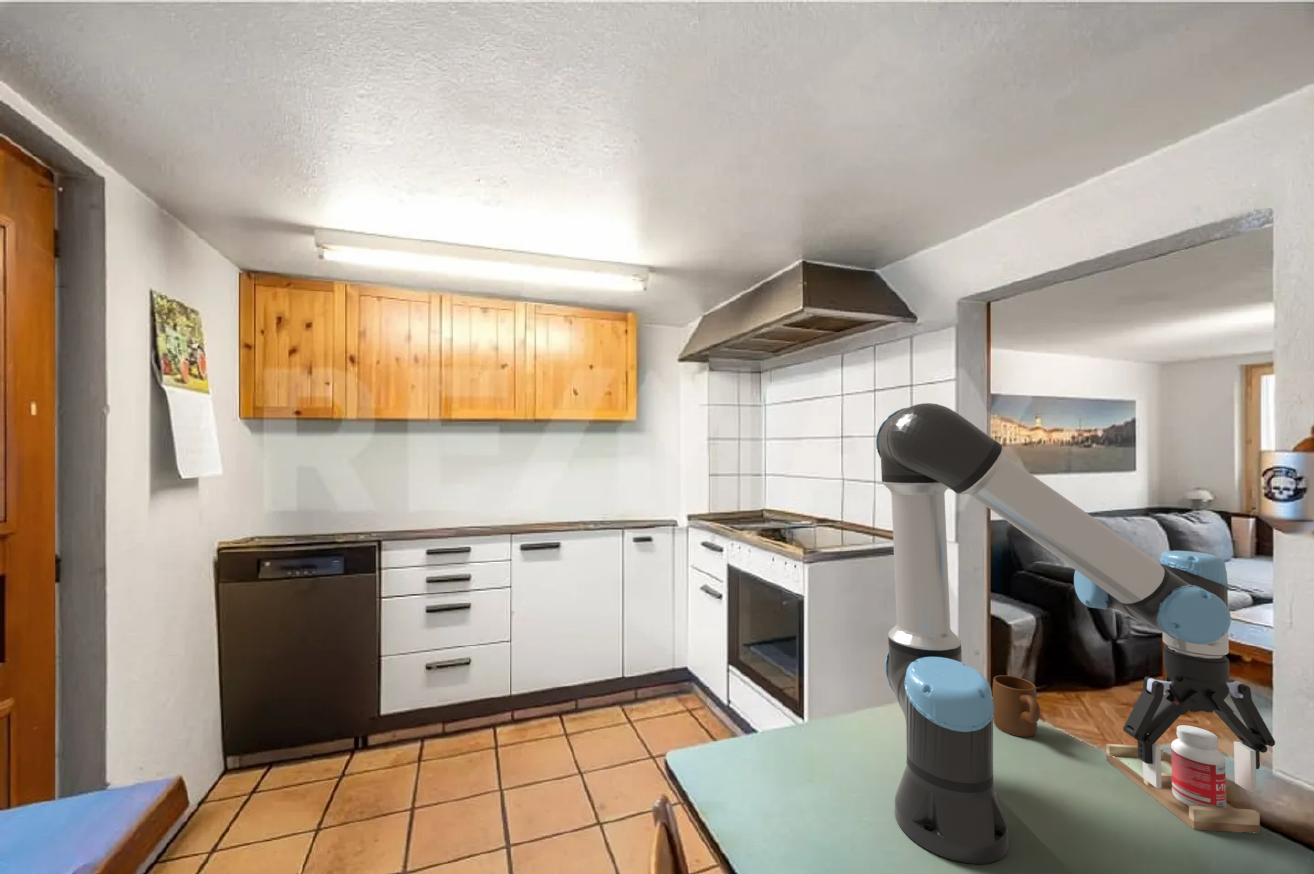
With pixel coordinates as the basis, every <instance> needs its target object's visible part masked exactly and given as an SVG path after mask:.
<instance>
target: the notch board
mask: <svg viewBox="0 0 1314 874" xmlns="http://www.w3.org/2000/svg"><path fill="white" fill-rule="evenodd" d="M1105 748H1106V750H1105V751H1106V752H1105V753H1109V754H1110V755H1108V754H1106V761H1107V762H1108V763H1109V764H1110V765H1112V766H1113V767H1114V768H1116V769H1117V770H1118V771H1120V772H1121V773H1122V774H1123V775H1125V776H1126V777H1127V778H1128V779H1129V780H1131V781H1132V783H1135V784H1136V785H1137V786H1138V787H1139V788H1141V789H1142V790H1143V791H1145V792H1146V793H1147V794H1148V795H1149V796H1151V797H1153V798H1154V800H1156V801H1157V802H1158V803H1160V804H1161V805H1162V806H1164V807H1165V808H1166V809H1167V810H1168V811H1170V812H1171V813H1173V815H1175V816H1176V817H1178V818H1179V819H1180V820H1182V821H1183V823H1185V824H1186V825H1188V826H1189V827H1190V828H1191V829H1193V830H1198V831H1199V830H1200V831H1211V832H1212V831H1215V832H1227V831H1228V832H1230V831H1231V832H1230V833H1242V832H1251V833H1250V834H1258V833H1260V834H1261V827H1260V826H1261V824H1260V823H1261V822H1260V821H1261V820H1260V819H1261V818H1260V816H1261V815H1260V812H1258V811H1257V810H1256V809H1250V808H1249V809H1248V808H1247V809H1246V808H1235V807H1234V806H1232V805H1231V804H1230V803H1228V802H1226V808H1218V807H1202V806H1187V805H1185V804H1183V803H1182V802H1180V801H1179V800H1177V799H1176V798H1175V796H1174V795H1173V793H1172V763H1169V761H1167V760H1165V759H1164V749H1163V747H1161V784H1162V788H1156V787H1154V786H1153V785H1152V784H1151V783H1149V782H1148V781H1147V780H1145V779H1144V778H1143V761H1142V760H1140V759H1139V757H1138V744H1137V745H1135V744H1131V745H1130V744H1119V743H1118V744H1116V743H1114V744H1113V743H1106V745H1105ZM1111 755H1112V756H1115V757H1116V758H1119V759H1121V760H1119V759H1116V758H1113V757H1112V756H1111ZM1128 763H1129V764H1128ZM1253 832H1255V833H1253Z"/></svg>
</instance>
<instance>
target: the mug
mask: <svg viewBox="0 0 1314 874" xmlns="http://www.w3.org/2000/svg"><path fill="white" fill-rule="evenodd" d="M992 681H993V682H992V699H993V702H994V703H993V705H994V715H993V725H995V727H996V728H997V729H999V731H1001V732H1004V733H1006V734H1008V735H1011V736H1015V737H1019V738H1020V737H1022V738H1023V737H1024V738H1031V737H1033V736H1035V735H1036V734H1037V731H1038V721H1039V720H1040V719H1041V707H1040V705H1039V703H1038V697H1037V695H1038V694H1037V687H1036V685H1035V684H1034V683H1033V682H1032V681H1030V680H1027V679H1025V678H1022V677H1018V676H1014V675H1008V674H1007V675H1005V674H1004V675H1003V674H1002V675H996V676H994V677H993V679H992Z"/></svg>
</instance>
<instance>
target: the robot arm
mask: <svg viewBox="0 0 1314 874" xmlns="http://www.w3.org/2000/svg"><path fill="white" fill-rule="evenodd" d="M875 447H876V450H877V453H878V454H877V455H878V456H879V459H880V470H881V471H880V473H881V484H882V485H884V486H885V487H886V488H887V489H888V490H889V491H890V494H891V516H892V517H891V518H892V519H891V520H892V541H893V560H894V562H893V565H894V567H893V568H894V587H895V609H896V610H895V611H896V612H895V613H896V624H895V626H893V627H892V628H891V629H890V630H889V631H888V633H887V637H888V651H887V652H886V656H885V665H884V670H885V676H886V679H887V682H888V685H889V686H890V688H891V690H892V692H893V694H894V695H895V698H896V700H897V702H898V705H899V707H900V709H901V711H902V713H903V716H904V718H905V726H906V727H905V728H906V730H905V731H906V733H905V735H906V736H905V737H906V766H905V769H904V771H903V774H902V777H901V779H900V782H899V785H898V787H897V789H896V793H895V797H894V816H895V820H896V822H897V825H898V827H899V828H900V829H901V830H902V832H904V833H905V835H906V836H907V837H909V838H910V840H912V841H913V842H914V843H916V844H917V845H919V847H920V846H921V847H922V848H924V849H925V850H928V851H930V852H931V853H933V854H936V855H938V856H940V857H941V858H942V857H943V858H946V859H948V860H952V861H956V862H960V863H966V864H976V865H978V864H989V863H994V862H997V861H999V860H1001V859H1002V858H1003V857H1005V856H1006V855H1007V852H1008V850H1009V828H1008V824H1007V820H1006V818H1005V814H1004V813H1003V812H1004V811H1003V810H1002V806H1001V805H1000V801H999V799H998V796H997V792H996V789H995V786H994V721H993V715H994V705H993V703H994V702H993V691H992V689H991V688H992V687H991V686H990V683H989V681H988V680H987V679H986V677H985V676H984V675H983V674H982V673H981V672H979V671H978V670H977V669H976V668H974V667H972V666H969V665H966V664H965V663H964V662H963V657H962V655H963V654H962V640H961V638H960V637H959V636H958V635H956V633H955V632H954V631H952V629H951V612H950V610H951V609H950V608H951V607H950V591H949V588H950V587H949V584H950V583H949V569H948V567H949V565H948V543H947V541H948V540H947V524H946V523H947V519H946V504H945V503H946V499H945V493H946V491H947V490H948V489H950V490H951V491H952V492H954V493H956V494H958V495H969V496H972V498H974V499H976V500H977V501H978V502H980V503H981V504H982V505H984V506H985V507H987V508H988V509H989V510H991V511H992V512H993V513H995V514H997V515H998V516H999V517H1001V518H1002V520H1003V519H1004V520H1005V521H1006V522H1008V523H1009V524H1010V525H1012V526H1013V527H1014V528H1016V529H1018V531H1021V533H1023V534H1024V535H1026V536H1027V537H1029V538H1030V539H1032V540H1033V541H1035V542H1036V543H1037V544H1038V545H1039V546H1041V547H1043V548H1044V549H1046V550H1047V551H1048V552H1050V553H1051V554H1052V555H1054V556H1055V557H1057V558H1058V559H1060V560H1061V561H1062V562H1064V563H1065V564H1067V566H1069V567H1071V568H1072V569H1073V570H1074V575H1073V585H1074V586H1073V587H1074V590H1075V593H1076V596H1077V598H1078V599H1079V601H1080V602H1081V603H1082V604H1083V605H1084V606H1086V607H1088V608H1093V609H1101V610H1103V611H1107V610H1115V611H1119V612H1120V613H1123V614H1125V615H1127V616H1130V617H1131V618H1134V619H1136V620H1138V621H1140V622H1141V623H1142V622H1143V623H1145V624H1147V625H1149V626H1151V627H1152V628H1154V629H1157V630H1159V631H1160V632H1162V642H1163V643H1164V644H1165V646H1164V647H1163V648H1162V652H1163V653H1162V654H1163V658H1162V659H1163V667H1164V670H1165V673H1166V677H1165V679H1164V680H1159V679H1154V678H1153V677H1151V676H1145V677H1144V678H1143V684H1142V690H1141V692H1140V694H1139V696H1138V698H1137V700H1136V702H1135V704H1134V706H1133V708H1132V710H1131V712H1130V714H1129V716H1128V718H1127V719H1126V722H1125V723H1124V725H1123V726H1122V727H1123V728H1122V729H1123V732H1124V733H1126V734H1128V735H1129V736H1130V737H1131V738H1133V739H1134V740H1136V741H1137V745H1138V757H1139V759H1140V760H1142V761H1143V778H1144V779H1145V780H1147V781H1148V782H1149V783H1151V784H1152V785H1153V786H1154V787H1156V788H1162V784H1161V748H1162V747H1161V745H1159V744H1158V743H1156V742H1157V741H1158V740H1159V739H1160V738H1162V736H1163V735H1164V734H1165V732H1166V731H1168V729H1169V728H1170V727H1171V726H1172V725H1173V724H1174V723H1175V722H1176V721H1177V719H1178V718H1179V717H1181V716H1184V715H1186V714H1187V713H1188V712H1192V713H1193V712H1194V713H1199V712H1205V713H1212V714H1213V713H1215V714H1216V715H1217V716H1218V717H1219V719H1220V720H1221V721H1222V722H1223V723H1224V724H1225V725H1226V726H1227V727H1228V728H1229V729H1230V731H1231V732H1232V733H1233V734H1234V735H1235V736H1236V737H1237V739H1238V740H1240V741H1241V742H1240V741H1233V762H1234V763H1233V764H1234V765H1233V766H1234V783H1235V784H1236V785H1238V786H1240V787H1241V788H1243V789H1244V790H1246V791H1247V792H1249V793H1250V794H1258V793H1257V792H1258V791H1257V790H1258V789H1257V770H1259V769H1260V767H1261V763H1260V762H1261V759H1260V758H1261V757H1260V755H1261V754H1263V753H1267V752H1268V747H1267V746H1269V747H1274V746H1275V745H1276V741H1275V739H1274V737H1273V736H1272V733H1271V731H1270V729H1269V728H1268V726H1267V724H1266V723H1265V721H1264V719H1263V717H1262V715H1261V714H1260V712H1259V710H1258V708H1257V706H1256V705H1255V703H1254V701H1253V699H1252V698H1253V696H1252V691H1251V687H1250V686H1248V685H1246V684H1244V683H1242V682H1240V681H1238V680H1235V679H1232V678H1231V679H1230V677H1231V676H1230V659H1229V658H1228V657H1227V656H1226V655H1228V654H1229V651H1230V649H1229V647H1230V646H1229V645H1230V644H1229V630H1230V628H1231V623H1232V618H1231V617H1232V616H1231V612H1230V609H1229V607H1228V604H1229V603H1228V602H1229V601H1228V600H1229V599H1228V597H1229V596H1228V593H1229V592H1228V588H1229V583H1228V573H1227V569H1226V564H1225V561H1224V560H1223V559H1222V558H1221V557H1220V556H1217V555H1214V554H1210V553H1206V552H1198V551H1191V550H1189V551H1188V550H1165V551H1163V552H1162V553H1161V556H1160V560H1159V562H1158V561H1156V560H1155V559H1153V558H1152V557H1151V556H1149V555H1147V553H1145V552H1144V551H1142V550H1141V549H1139V548H1138V547H1136V546H1135V545H1134V544H1132V543H1131V542H1130V541H1127V540H1126V539H1125V538H1123V537H1122V536H1120V535H1119V534H1118V533H1117V532H1115V531H1114V530H1112V529H1111V528H1109V527H1108V526H1106V525H1104V524H1103V523H1102V522H1101V521H1099V520H1097V519H1096V518H1094V517H1093V516H1092V515H1091V514H1089V513H1088V512H1086V511H1085V510H1084V509H1082V508H1081V507H1080V506H1077V505H1076V504H1075V503H1073V502H1071V501H1070V500H1069V499H1067V498H1066V497H1064V496H1063V495H1062V494H1060V493H1059V492H1057V491H1056V490H1055V489H1053V488H1052V487H1050V486H1049V485H1047V484H1046V483H1044V482H1043V481H1041V480H1040V479H1039V478H1037V477H1036V476H1034V475H1033V474H1032V473H1030V472H1028V471H1027V470H1026V469H1024V468H1023V467H1022V466H1020V465H1018V464H1017V463H1016V462H1014V461H1012V460H1011V459H1010V458H1009V457H1007V456H1006V455H1005V447H1004V446H1003V445H1002V444H1001V443H999V442H998V441H997V440H995V439H993V438H992V437H991V436H989V435H988V434H987V433H985V431H982V430H981V429H980V428H979V427H978V426H976V425H975V424H973V422H971V421H969V420H967V418H965V417H964V416H962V415H960V414H959V413H958V412H957V411H955V410H953V409H951V408H949V407H947V406H944V405H942V404H938V403H932V402H930V403H928V402H925V403H924V402H923V403H918V404H915V405H911V406H909V407H905V408H900V409H899V410H896V411H894V412H893V413H891V414H889V415H888V416H887V417H886V418H885V419H884V421H882V422H881V425H880V426H879V429H878V430H877V433H876V438H875ZM1228 695H1229V697H1230V699H1231V701H1232V703H1233V704H1234V706H1235V708H1236V710H1237V712H1238V713H1239V715H1240V717H1241V719H1242V720H1243V722H1244V723H1243V722H1242V721H1241V720H1240V718H1239V717H1238V716H1237V715H1236V713H1234V712H1235V711H1234V710H1233V709H1232V708H1231V706H1230V705H1229V704H1228V703H1227V702H1226V701H1225V699H1226V698H1227V697H1228ZM1174 702H1176V704H1175V703H1174ZM1260 753H1261V754H1260Z"/></svg>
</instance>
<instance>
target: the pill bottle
mask: <svg viewBox="0 0 1314 874" xmlns="http://www.w3.org/2000/svg"><path fill="white" fill-rule="evenodd" d="M1176 736H1177V738H1175V739H1174V740H1172V741H1171V744H1170V751H1171V752H1170V753H1171V757H1170V758H1171V761H1170V762H1171V765H1172V793H1173V795H1174V796H1175V798H1176V799H1177V800H1179V801H1180V802H1182V803H1183V804H1185V805H1187V806H1202V807H1218V808H1226V803H1227V786H1226V785H1227V784H1226V783H1227V777H1226V758H1225V756H1224V755H1223V753H1222V752H1221V750H1219V749H1217V748H1218V747H1219V739H1218V738H1219V737H1218V735H1216V734H1214V733H1213V732H1211V731H1209V730H1206V729H1203V728H1201V727H1198V726H1197V727H1196V726H1192V725H1187V724H1186V725H1185V724H1181V725H1178V726H1176Z"/></svg>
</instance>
